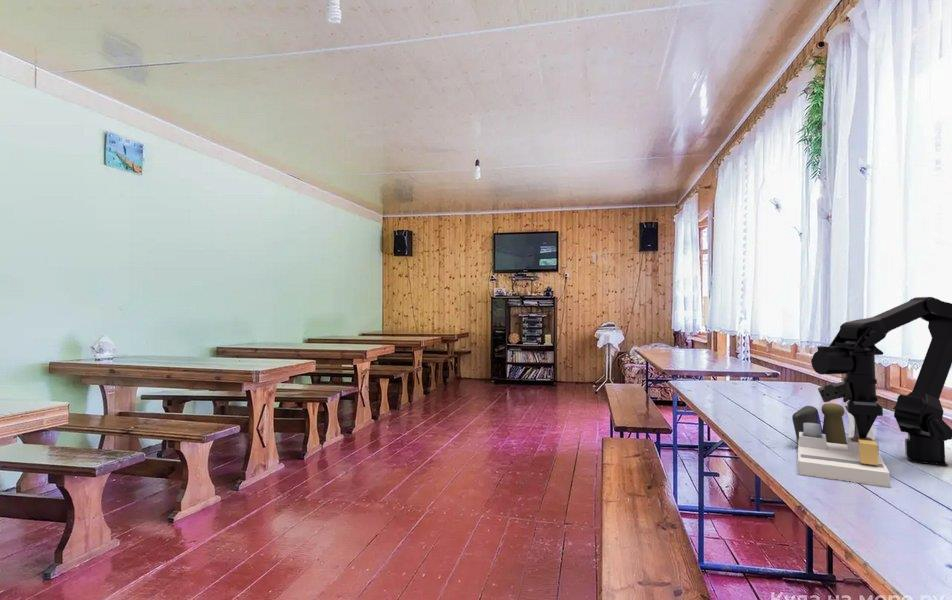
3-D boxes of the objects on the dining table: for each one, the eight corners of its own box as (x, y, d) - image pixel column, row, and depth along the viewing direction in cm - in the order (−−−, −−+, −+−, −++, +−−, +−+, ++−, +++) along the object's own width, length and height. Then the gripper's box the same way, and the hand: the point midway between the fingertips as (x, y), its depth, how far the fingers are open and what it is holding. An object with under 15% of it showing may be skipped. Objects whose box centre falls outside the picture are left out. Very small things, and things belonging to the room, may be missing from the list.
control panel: (876, 460, 120) (875, 437, 121) (890, 487, 102) (889, 461, 102) (798, 450, 129) (798, 429, 129) (798, 474, 111) (797, 450, 111)
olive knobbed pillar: (840, 447, 132) (838, 406, 132) (816, 442, 137) (814, 403, 137) (852, 444, 134) (850, 404, 135) (828, 439, 140) (826, 401, 140)
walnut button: (871, 449, 118) (870, 437, 119) (873, 453, 115) (872, 440, 116) (852, 447, 120) (852, 435, 121) (854, 451, 117) (853, 438, 118)
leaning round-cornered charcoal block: (818, 449, 127) (809, 413, 129) (798, 449, 130) (789, 413, 132) (830, 437, 139) (822, 404, 140) (811, 437, 142) (803, 405, 143)
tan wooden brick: (876, 461, 109) (875, 441, 109) (878, 465, 106) (877, 444, 106) (859, 458, 110) (858, 439, 110) (860, 463, 107) (859, 443, 107)
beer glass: (879, 443, 135) (877, 388, 136) (847, 439, 139) (846, 387, 139) (875, 437, 141) (873, 385, 142) (845, 434, 145) (843, 383, 145)
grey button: (820, 435, 124) (820, 423, 124) (821, 438, 121) (820, 426, 121) (803, 433, 126) (803, 422, 126) (803, 436, 123) (803, 424, 123)
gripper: (818, 367, 131) (820, 426, 130) (820, 376, 115) (823, 442, 115) (871, 370, 124) (873, 431, 124) (881, 379, 109) (884, 449, 109)
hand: (862, 438), depth 118 cm, fingers closed, pressing on walnut button
